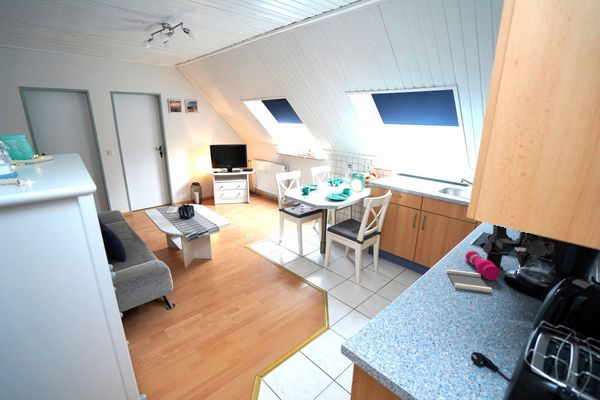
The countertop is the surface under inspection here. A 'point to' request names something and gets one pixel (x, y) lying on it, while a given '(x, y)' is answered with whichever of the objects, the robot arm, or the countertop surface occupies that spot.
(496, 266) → the robot arm
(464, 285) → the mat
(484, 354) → the countertop surface
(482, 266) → the pepper mill
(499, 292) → the countertop surface
